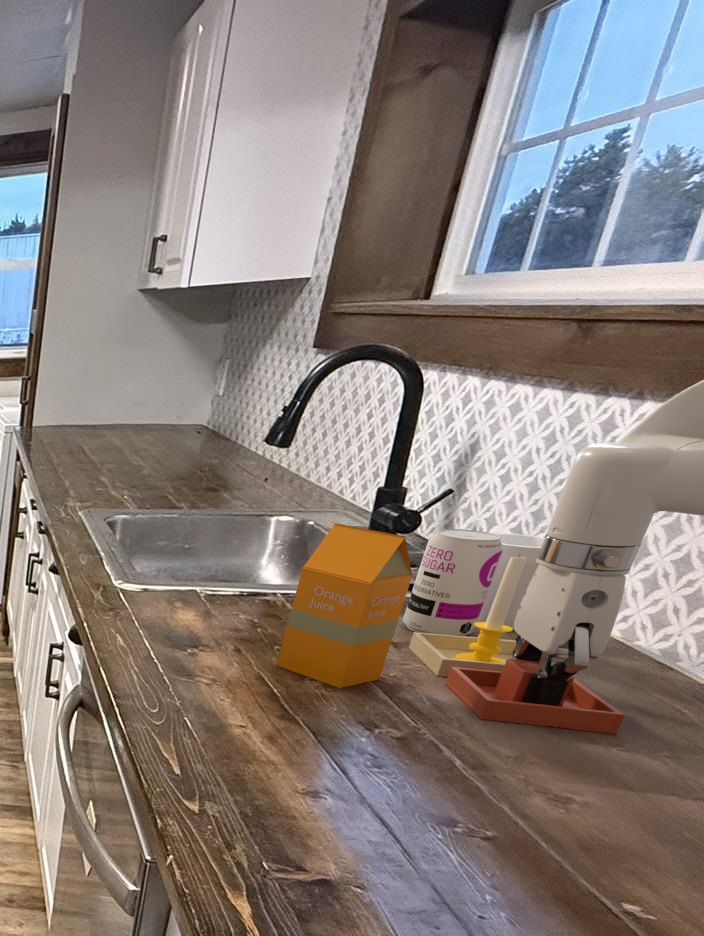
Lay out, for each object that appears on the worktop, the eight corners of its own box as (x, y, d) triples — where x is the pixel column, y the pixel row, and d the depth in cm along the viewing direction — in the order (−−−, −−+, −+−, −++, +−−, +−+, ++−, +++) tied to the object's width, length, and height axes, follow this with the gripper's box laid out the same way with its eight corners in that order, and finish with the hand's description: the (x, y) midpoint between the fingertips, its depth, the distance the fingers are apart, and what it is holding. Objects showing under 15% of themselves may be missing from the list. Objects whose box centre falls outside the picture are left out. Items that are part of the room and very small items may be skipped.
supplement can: (479, 631, 125) (514, 534, 120) (460, 643, 121) (496, 543, 115) (412, 617, 132) (443, 525, 126) (393, 629, 127) (423, 534, 122)
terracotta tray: (567, 696, 104) (574, 678, 103) (616, 734, 95) (625, 714, 94) (444, 683, 109) (451, 666, 108) (480, 719, 99) (487, 700, 98)
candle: (446, 655, 116) (484, 547, 110) (491, 657, 115) (532, 548, 109) (467, 669, 111) (508, 557, 105) (514, 671, 110) (558, 558, 104)
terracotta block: (541, 697, 102) (555, 662, 101) (560, 712, 98) (575, 676, 97) (493, 692, 104) (506, 658, 102) (510, 706, 100) (524, 671, 98)
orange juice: (339, 688, 108) (384, 540, 101) (275, 665, 116) (312, 525, 108) (380, 679, 111) (427, 533, 103) (315, 657, 118) (354, 519, 111)
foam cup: (447, 622, 129) (475, 541, 124) (455, 608, 135) (482, 530, 130) (530, 636, 123) (563, 551, 118) (536, 621, 128) (568, 539, 123)
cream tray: (516, 657, 116) (523, 641, 115) (556, 688, 106) (563, 670, 105) (408, 647, 120) (413, 631, 119) (437, 676, 111) (442, 659, 110)
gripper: (676, 577, 86) (606, 733, 93) (590, 539, 100) (534, 677, 107) (580, 571, 88) (519, 723, 95) (510, 536, 103) (461, 670, 110)
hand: (528, 697), depth 101 cm, fingers closed on terracotta block, 4 cm apart
